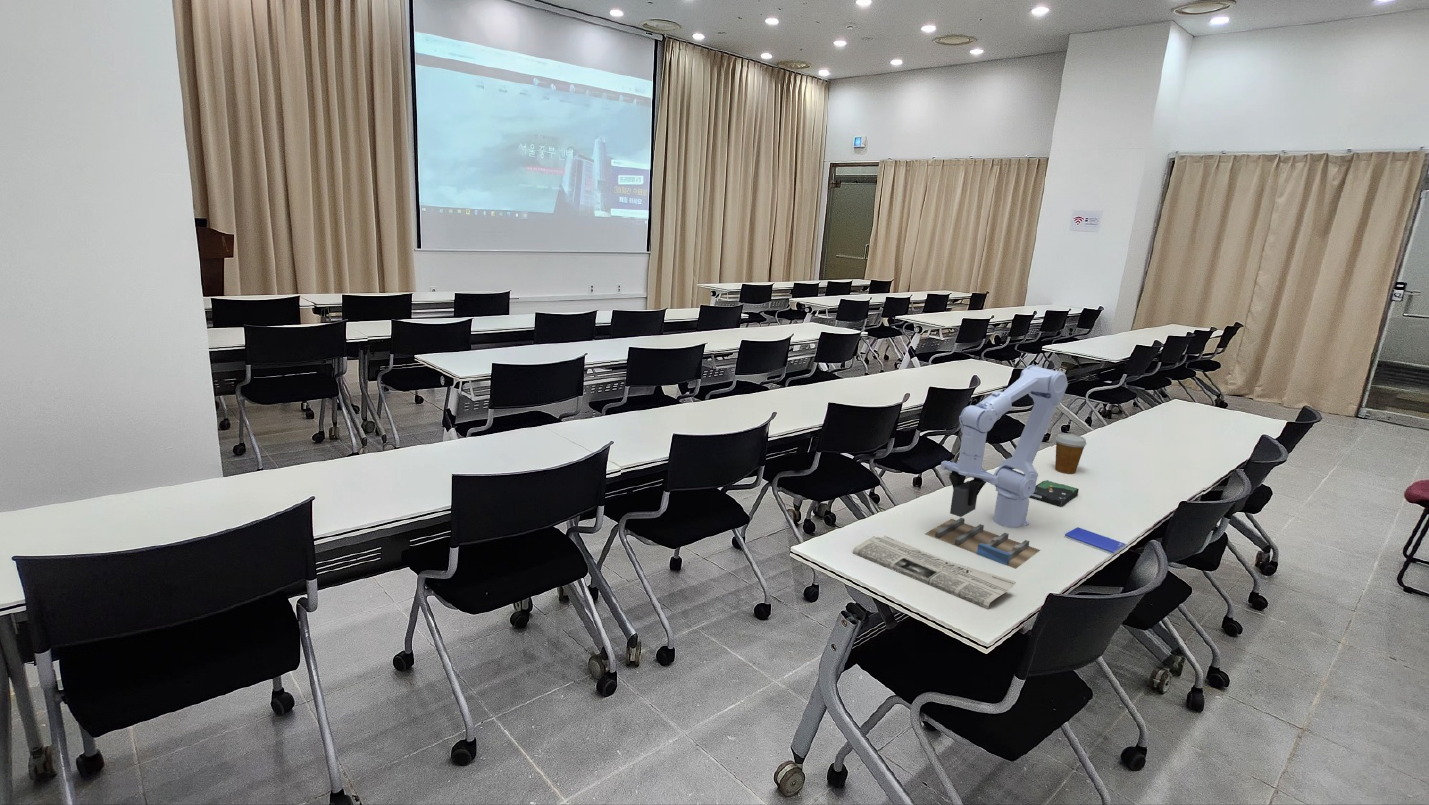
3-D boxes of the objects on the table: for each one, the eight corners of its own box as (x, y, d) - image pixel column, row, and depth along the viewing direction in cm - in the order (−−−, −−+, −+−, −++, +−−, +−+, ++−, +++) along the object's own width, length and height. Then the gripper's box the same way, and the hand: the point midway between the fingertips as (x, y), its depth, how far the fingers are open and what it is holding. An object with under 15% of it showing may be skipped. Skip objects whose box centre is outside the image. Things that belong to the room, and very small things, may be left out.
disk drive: (1061, 509, 207) (1077, 496, 218) (1063, 501, 206) (1079, 488, 217) (1025, 499, 214) (1043, 486, 224) (1027, 490, 213) (1044, 478, 224)
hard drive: (1126, 543, 183) (1078, 526, 192) (1114, 551, 178) (1064, 533, 187) (1125, 548, 183) (1077, 531, 192) (1112, 557, 178) (1063, 539, 187)
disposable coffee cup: (1057, 464, 246) (1063, 431, 243) (1085, 472, 239) (1092, 438, 235) (1044, 469, 240) (1050, 435, 237) (1072, 477, 233) (1079, 443, 230)
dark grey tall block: (964, 505, 186) (968, 480, 184) (975, 509, 184) (979, 484, 182) (949, 513, 180) (953, 488, 179) (960, 517, 178) (964, 491, 177)
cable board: (951, 521, 193) (953, 510, 192) (1039, 553, 177) (1042, 541, 176) (923, 536, 183) (925, 525, 182) (1015, 571, 167) (1017, 559, 166)
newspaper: (852, 555, 172) (854, 541, 171) (879, 540, 181) (880, 527, 180) (994, 613, 149) (996, 599, 148) (1016, 593, 158) (1019, 579, 157)
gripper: (937, 448, 180) (931, 497, 184) (992, 464, 170) (984, 515, 174) (950, 443, 185) (944, 491, 189) (1004, 458, 175) (996, 508, 179)
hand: (964, 502), depth 182 cm, fingers closed on dark grey tall block, 3 cm apart
